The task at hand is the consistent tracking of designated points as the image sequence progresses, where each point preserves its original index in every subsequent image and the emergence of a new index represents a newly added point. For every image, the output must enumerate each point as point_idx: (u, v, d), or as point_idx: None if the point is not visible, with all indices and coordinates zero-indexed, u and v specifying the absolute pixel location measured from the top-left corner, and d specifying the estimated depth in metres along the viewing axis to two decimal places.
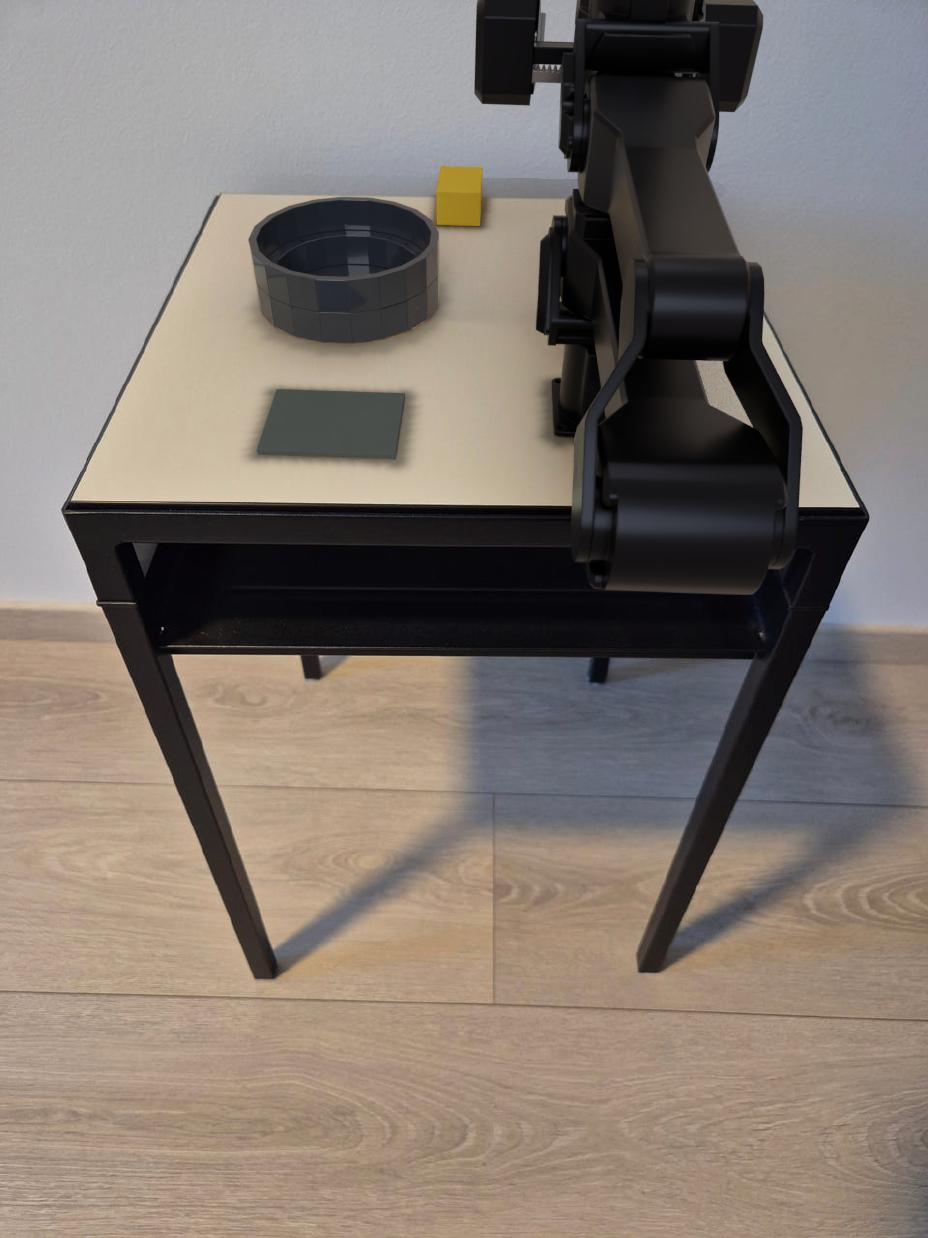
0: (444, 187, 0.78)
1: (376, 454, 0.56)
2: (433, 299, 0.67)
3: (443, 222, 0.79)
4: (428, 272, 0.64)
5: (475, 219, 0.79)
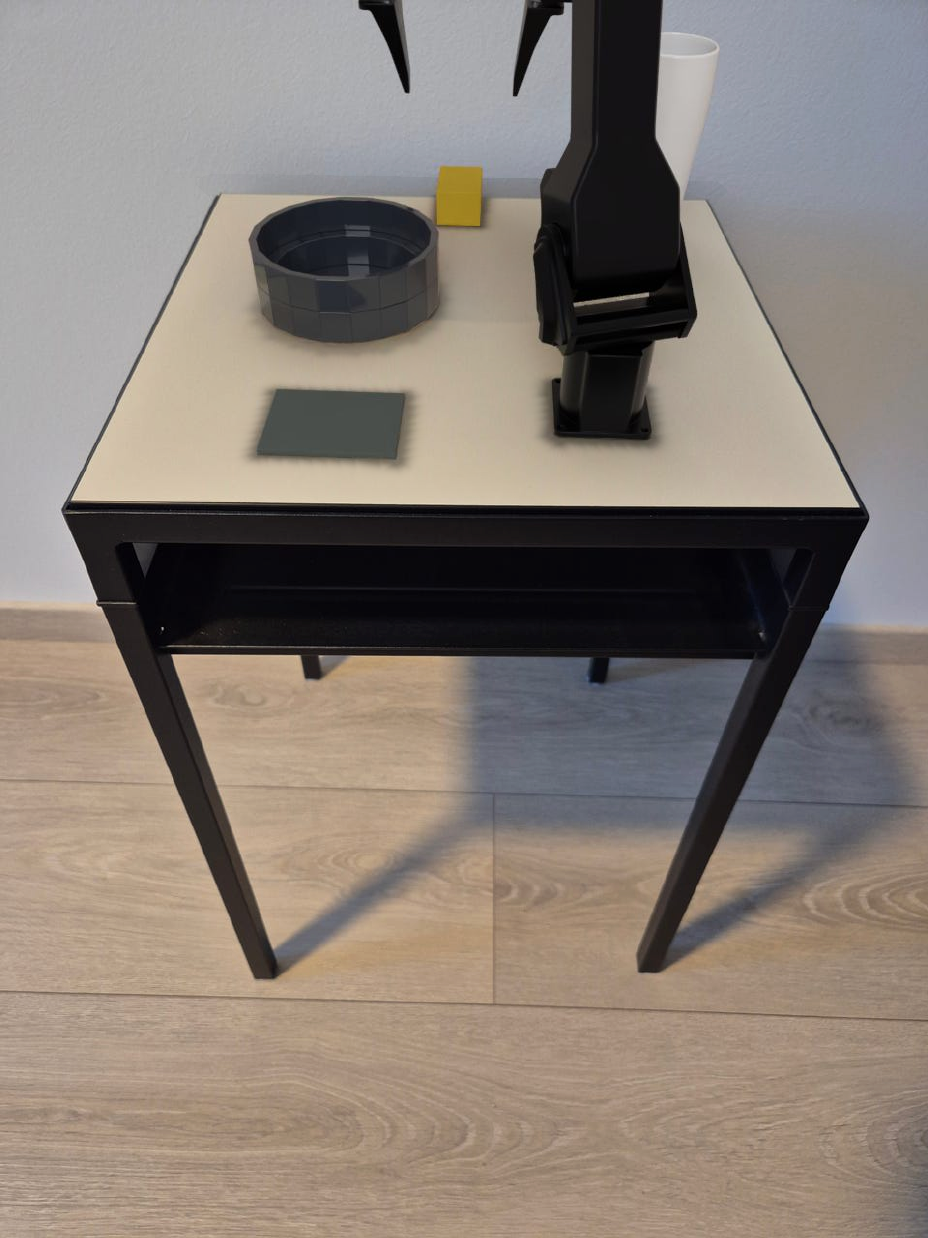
0: (444, 187, 0.78)
1: (376, 454, 0.56)
2: (433, 299, 0.67)
3: (443, 222, 0.79)
4: (428, 272, 0.64)
5: (475, 219, 0.79)
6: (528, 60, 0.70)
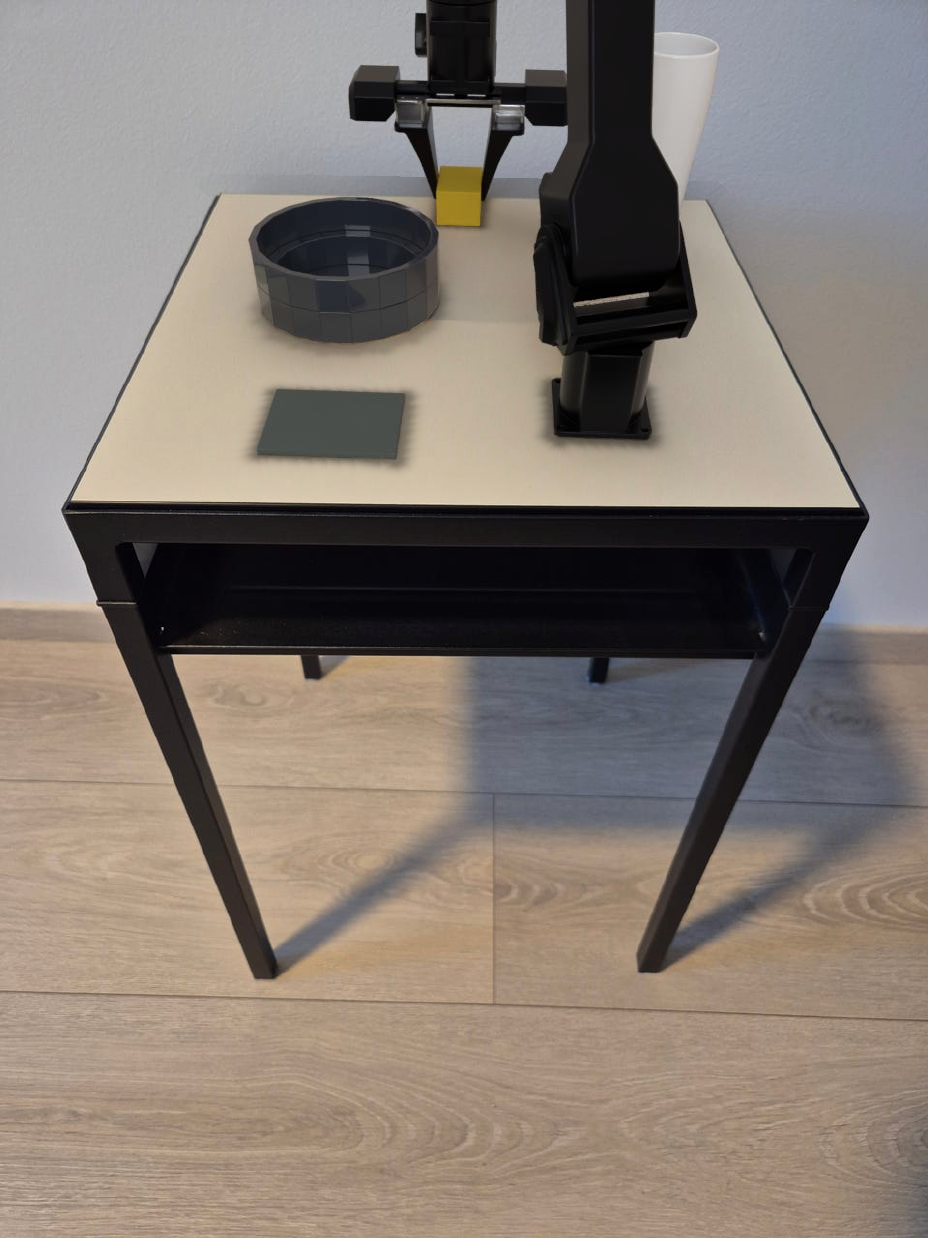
0: (444, 187, 0.78)
1: (376, 454, 0.56)
2: (433, 299, 0.67)
3: (443, 222, 0.79)
4: (428, 272, 0.64)
5: (475, 219, 0.79)
6: (493, 172, 0.77)
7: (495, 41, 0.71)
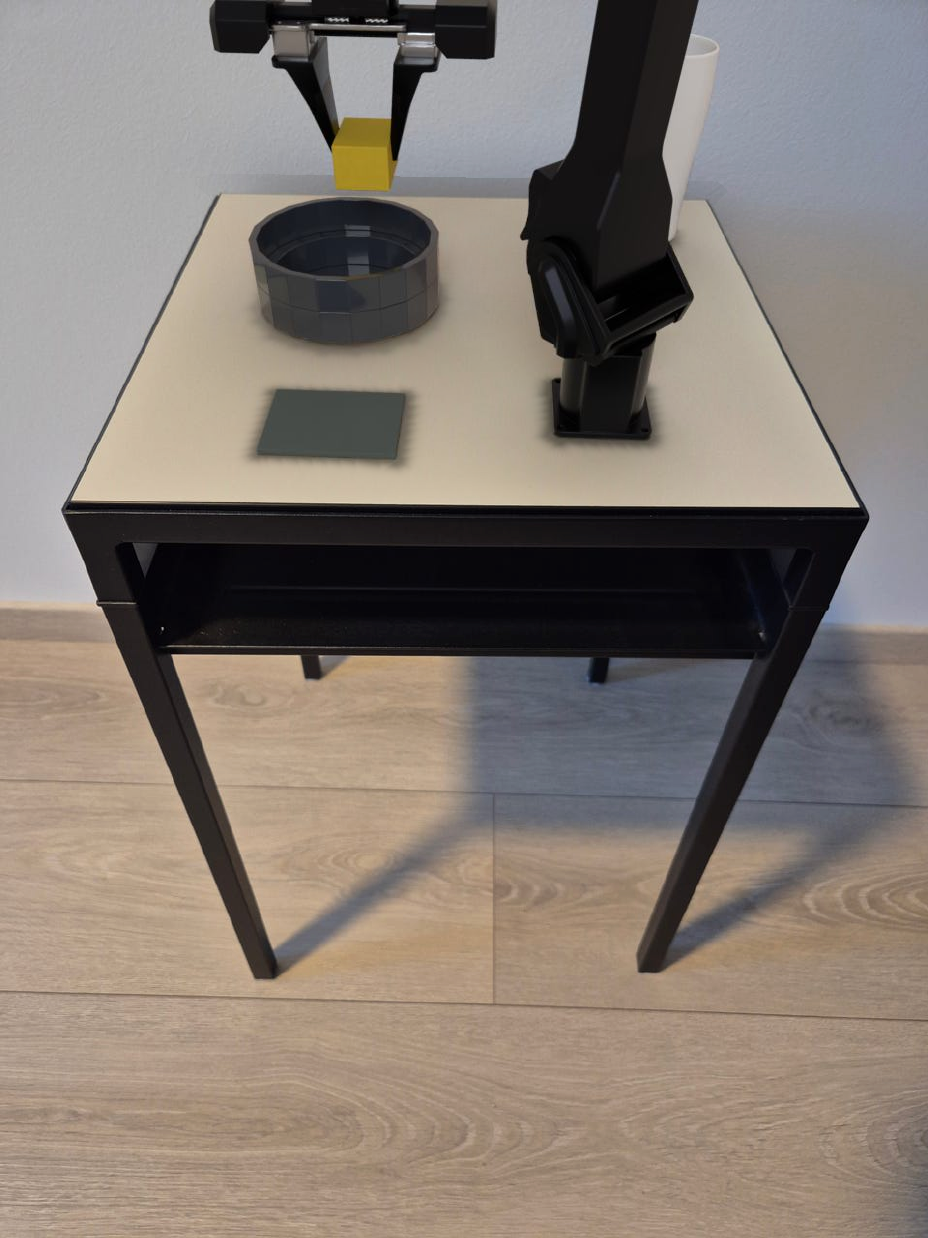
0: (342, 141, 0.62)
1: (376, 454, 0.56)
2: (433, 299, 0.67)
3: (343, 186, 0.63)
4: (428, 272, 0.64)
5: (383, 182, 0.63)
6: (403, 122, 0.61)
7: None
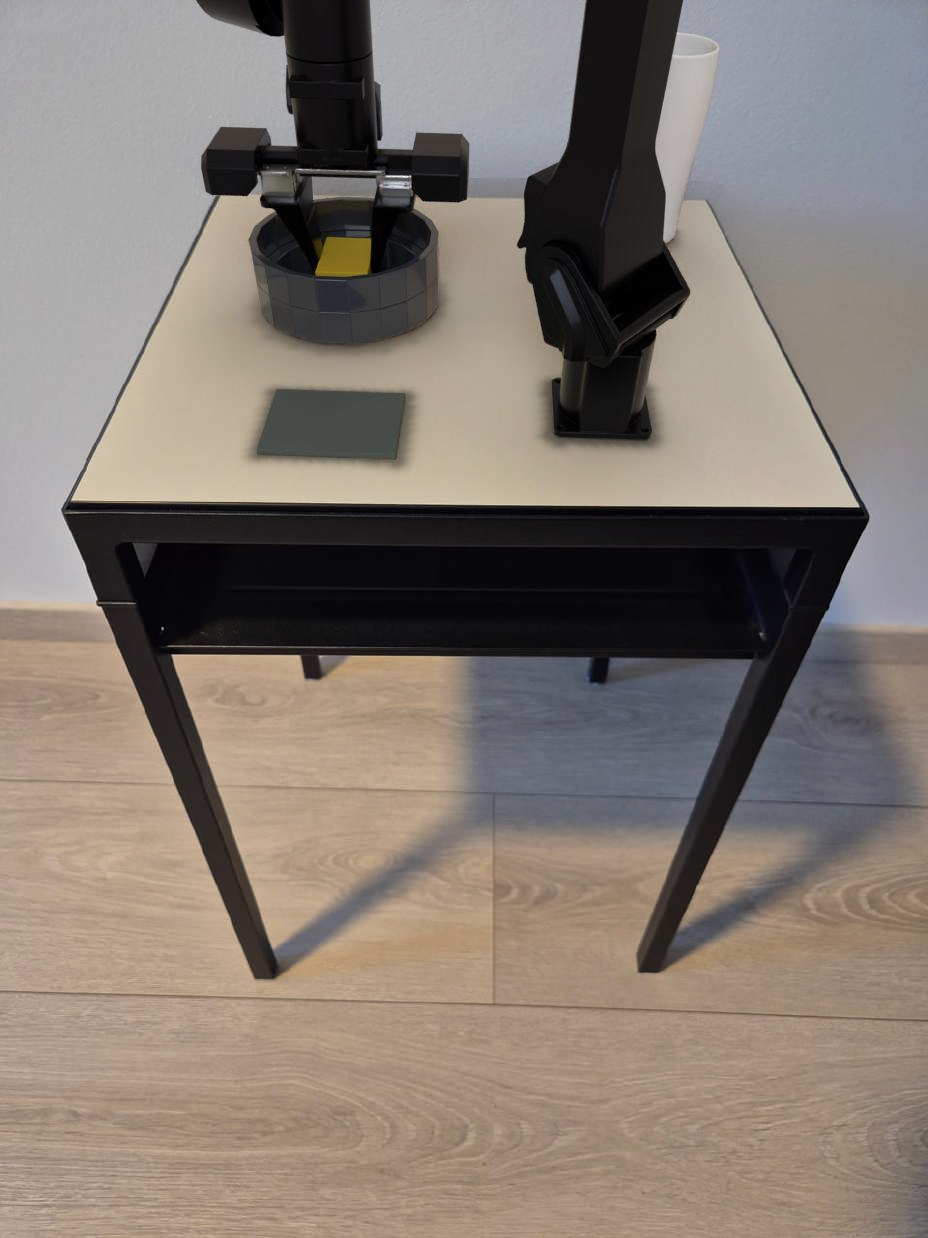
0: (325, 266, 0.66)
1: (376, 454, 0.56)
2: (433, 299, 0.67)
3: None
4: (428, 272, 0.64)
5: None
6: (382, 251, 0.65)
7: (373, 103, 0.59)
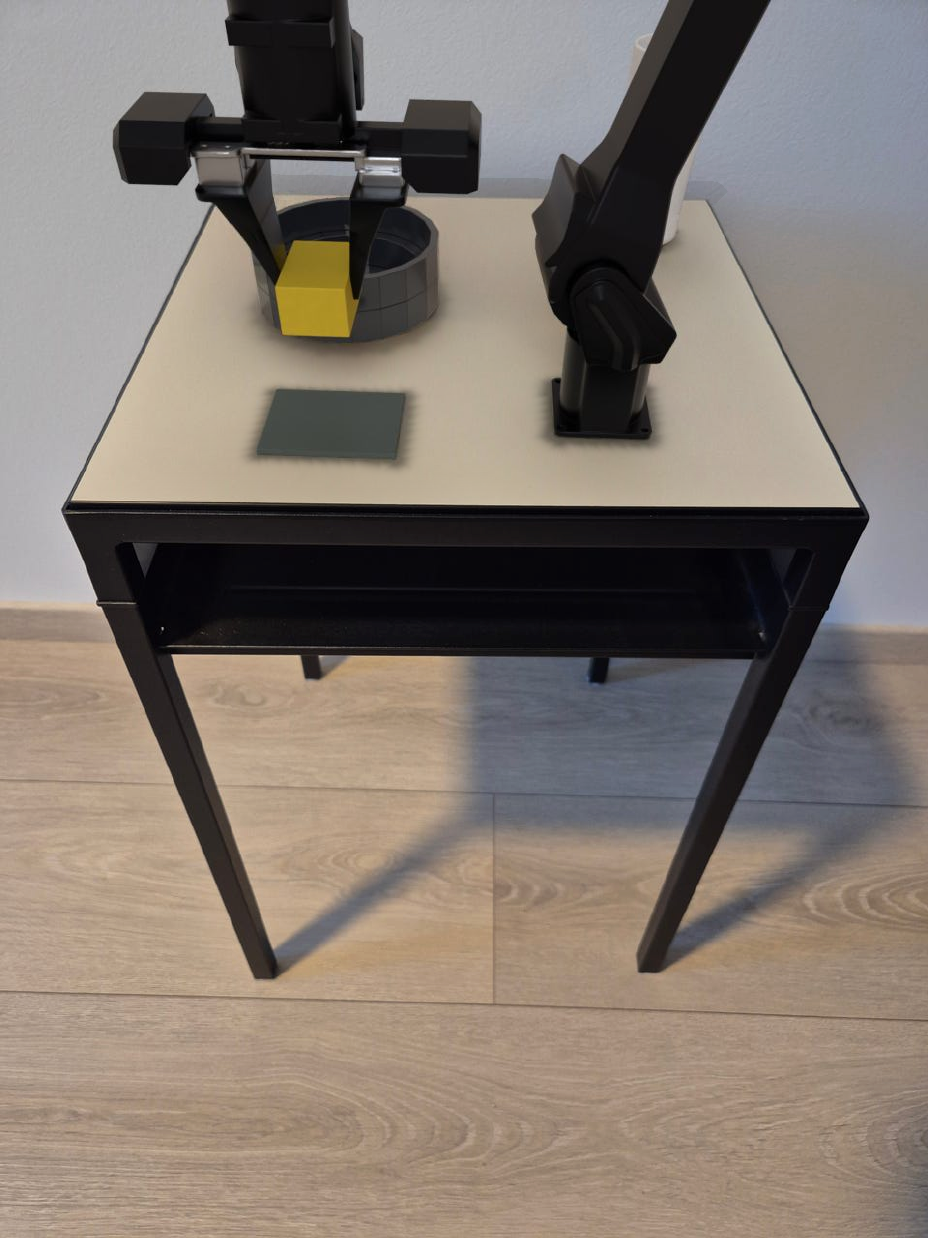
0: (289, 280, 0.49)
1: (376, 454, 0.56)
2: (433, 299, 0.67)
3: (292, 331, 0.51)
4: (428, 272, 0.64)
5: (341, 327, 0.50)
6: (364, 260, 0.49)
7: (349, 55, 0.42)
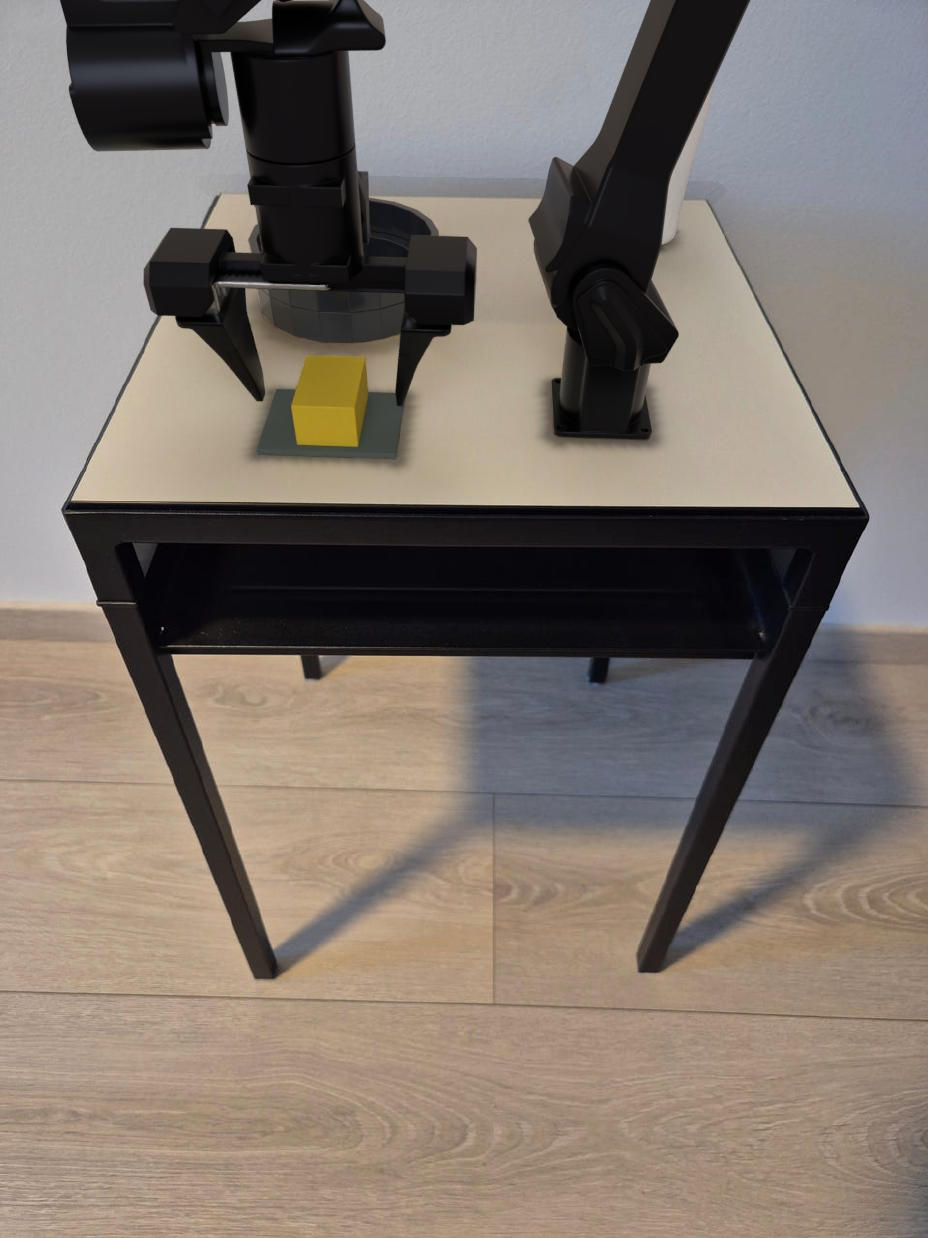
0: (304, 398, 0.54)
1: (376, 454, 0.56)
2: None
3: (306, 442, 0.56)
4: None
5: (350, 439, 0.55)
6: (411, 376, 0.53)
7: (357, 206, 0.47)
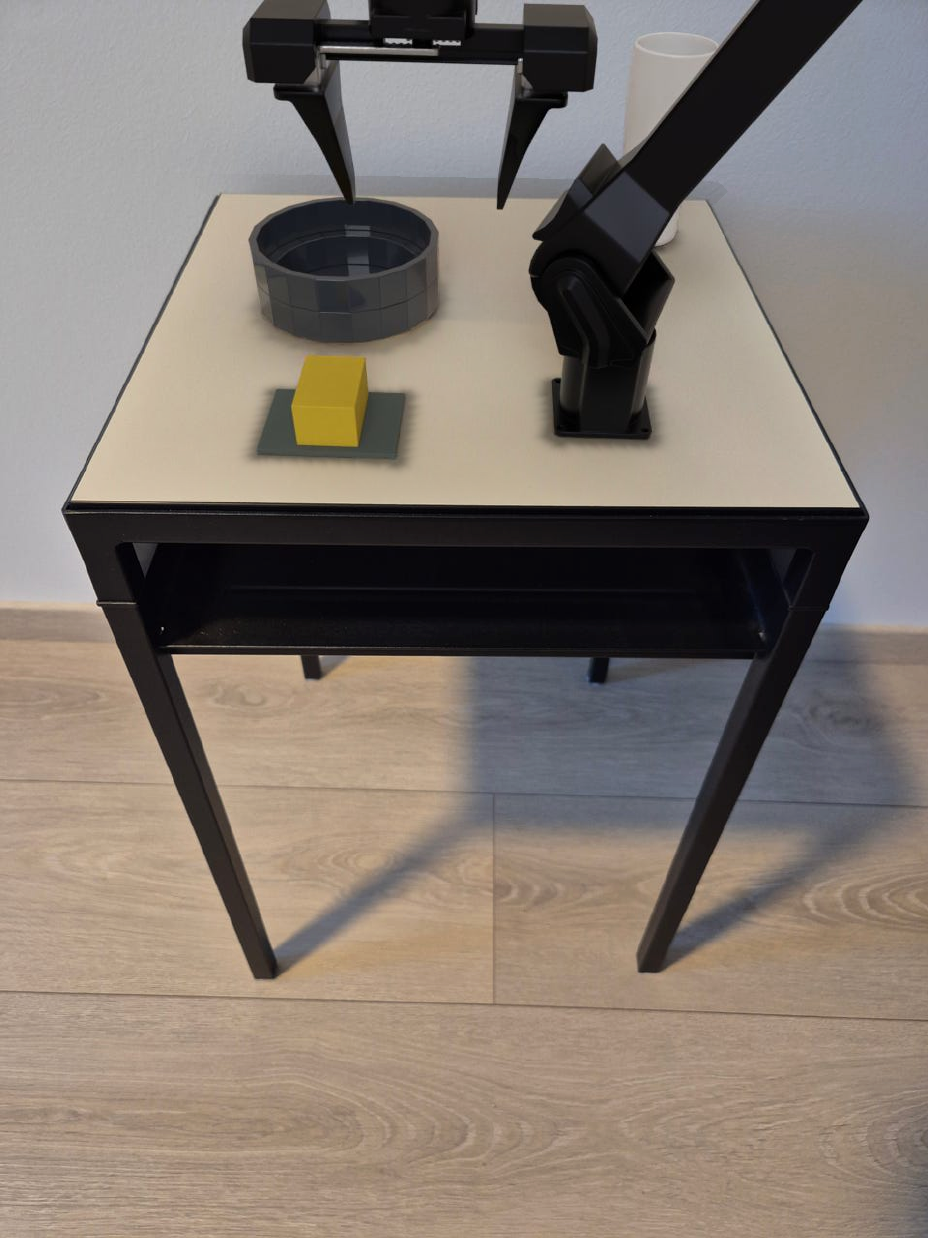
0: (304, 398, 0.54)
1: (376, 454, 0.56)
2: (433, 299, 0.67)
3: (306, 442, 0.56)
4: (428, 272, 0.64)
5: (350, 439, 0.55)
6: (517, 165, 0.50)
7: None
